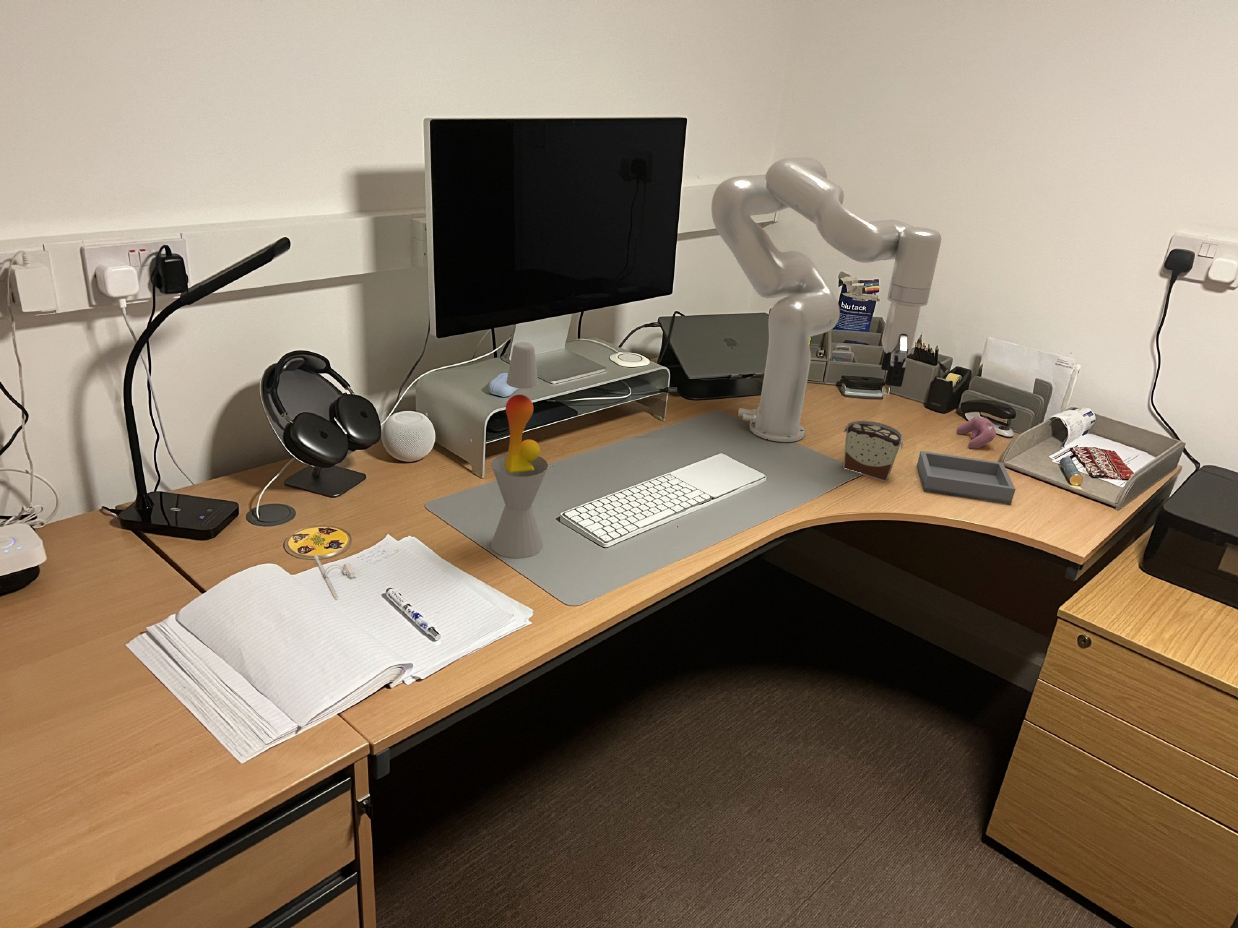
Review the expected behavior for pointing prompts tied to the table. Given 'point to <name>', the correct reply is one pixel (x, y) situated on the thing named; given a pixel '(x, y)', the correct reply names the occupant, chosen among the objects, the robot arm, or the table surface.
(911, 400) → the table surface
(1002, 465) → the desk holder
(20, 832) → the table surface
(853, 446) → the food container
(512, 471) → the lava lamp
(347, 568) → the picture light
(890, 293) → the robot arm
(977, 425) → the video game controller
